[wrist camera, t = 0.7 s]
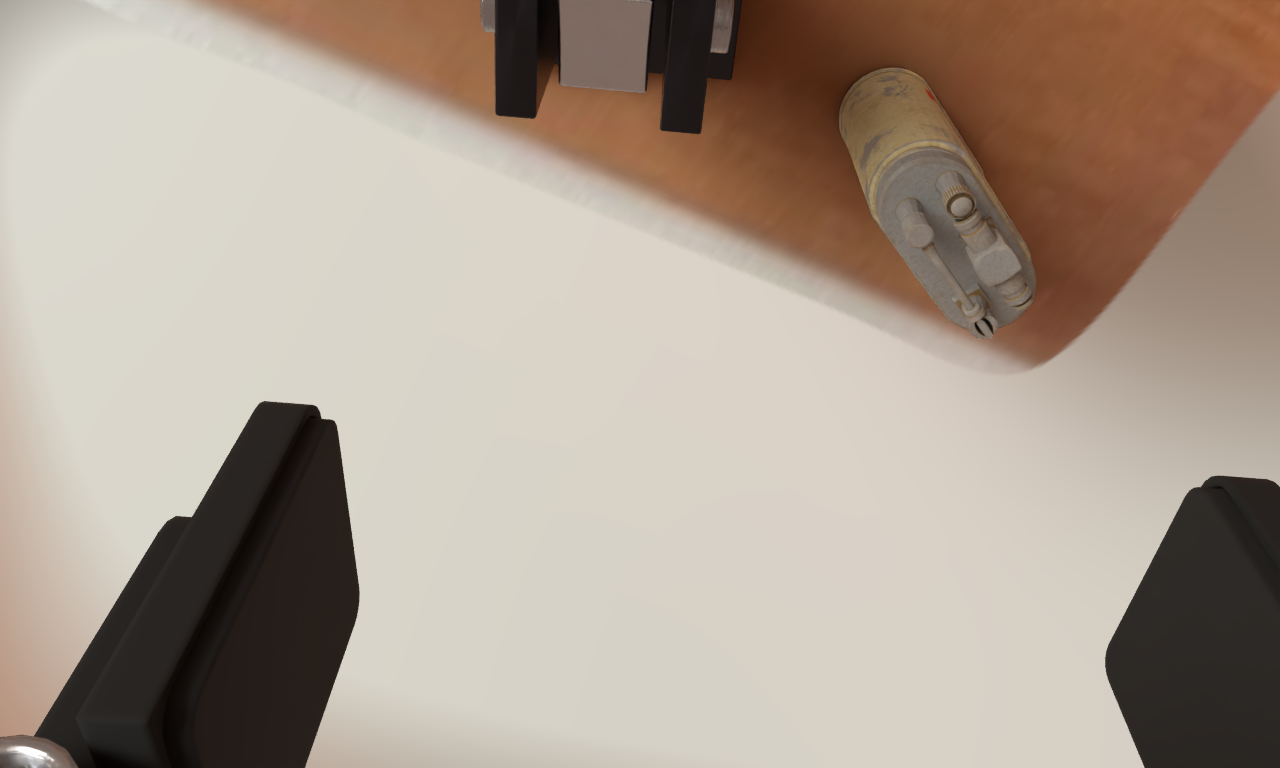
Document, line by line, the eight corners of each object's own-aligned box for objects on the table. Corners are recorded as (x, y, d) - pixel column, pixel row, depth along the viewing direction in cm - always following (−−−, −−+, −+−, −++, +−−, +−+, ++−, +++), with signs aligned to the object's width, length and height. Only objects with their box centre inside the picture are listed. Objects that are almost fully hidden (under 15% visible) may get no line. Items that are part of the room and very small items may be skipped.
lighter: (998, 194, 38) (1083, 331, 30) (911, 248, 40) (969, 394, 32) (903, 46, 35) (968, 154, 27) (812, 110, 37) (848, 231, 29)
